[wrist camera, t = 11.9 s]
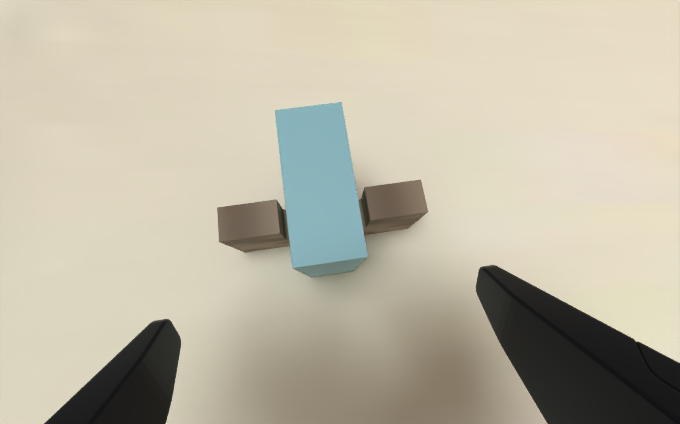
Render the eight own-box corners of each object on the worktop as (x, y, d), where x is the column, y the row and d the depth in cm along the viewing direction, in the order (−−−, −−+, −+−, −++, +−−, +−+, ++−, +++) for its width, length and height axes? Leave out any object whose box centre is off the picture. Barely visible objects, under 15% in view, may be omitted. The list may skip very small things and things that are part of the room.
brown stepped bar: (402, 202, 23) (420, 179, 18) (408, 228, 23) (428, 212, 18) (242, 225, 23) (217, 207, 18) (244, 252, 22) (219, 242, 17)
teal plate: (353, 271, 22) (368, 256, 12) (311, 277, 22) (292, 267, 12) (338, 179, 24) (341, 102, 14) (299, 184, 23) (274, 110, 14)
